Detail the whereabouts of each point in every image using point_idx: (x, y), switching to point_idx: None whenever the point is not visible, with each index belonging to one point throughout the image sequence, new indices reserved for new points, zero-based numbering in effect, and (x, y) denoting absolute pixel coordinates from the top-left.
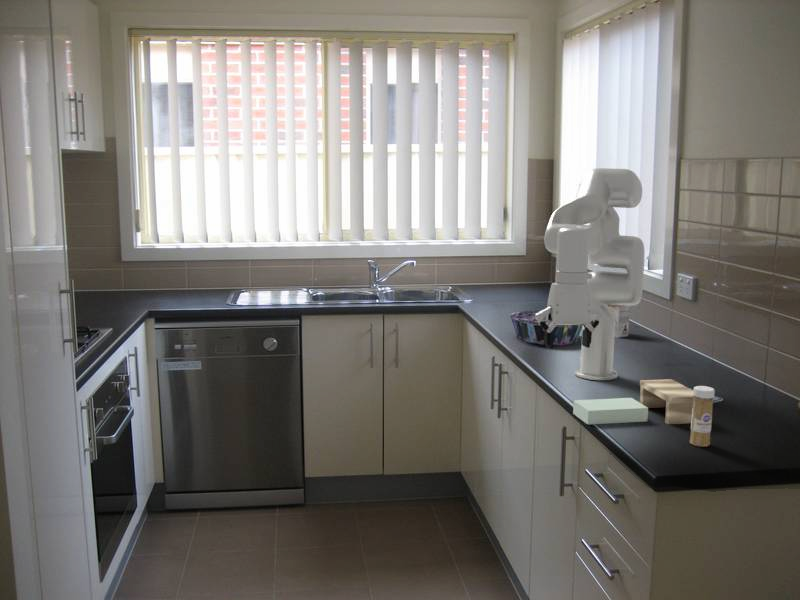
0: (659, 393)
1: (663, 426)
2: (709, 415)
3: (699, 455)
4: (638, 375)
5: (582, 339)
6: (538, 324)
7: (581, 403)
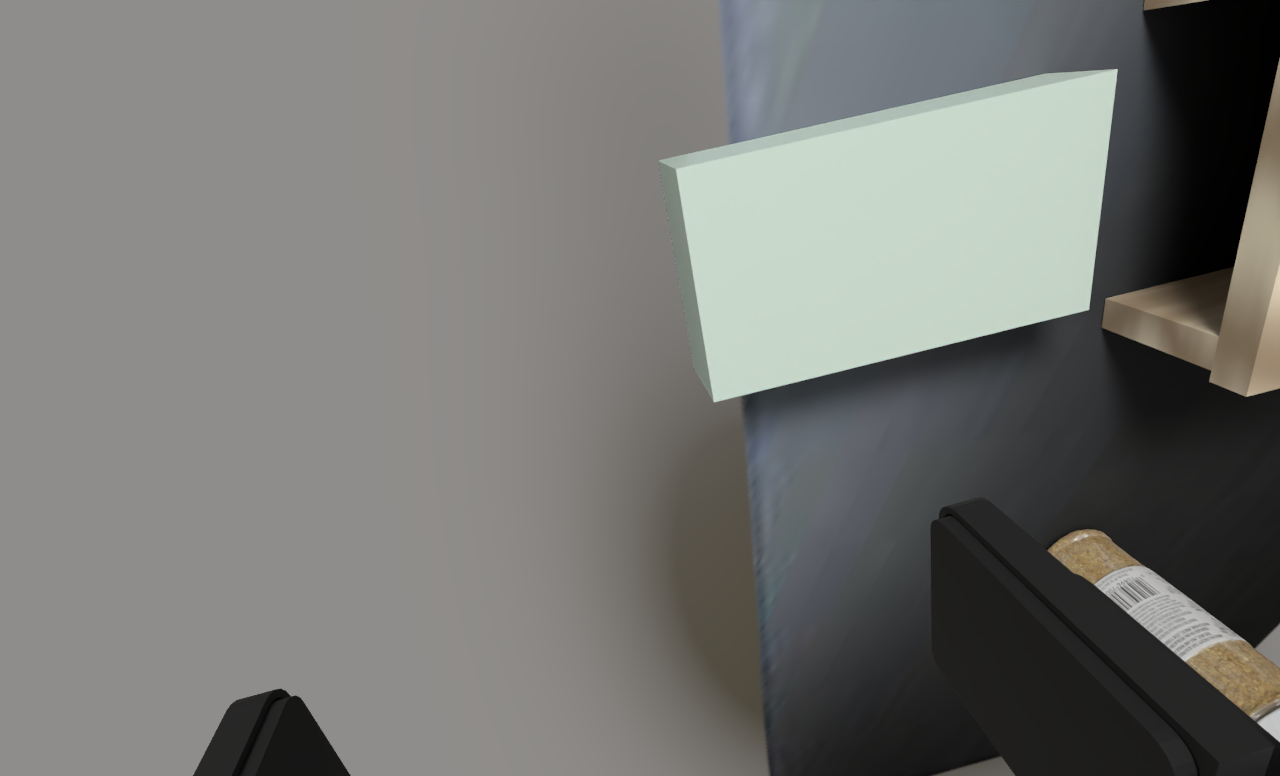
0: (1264, 251)
1: (1061, 360)
2: None
3: None
4: None
5: (996, 595)
6: None
7: (712, 249)
